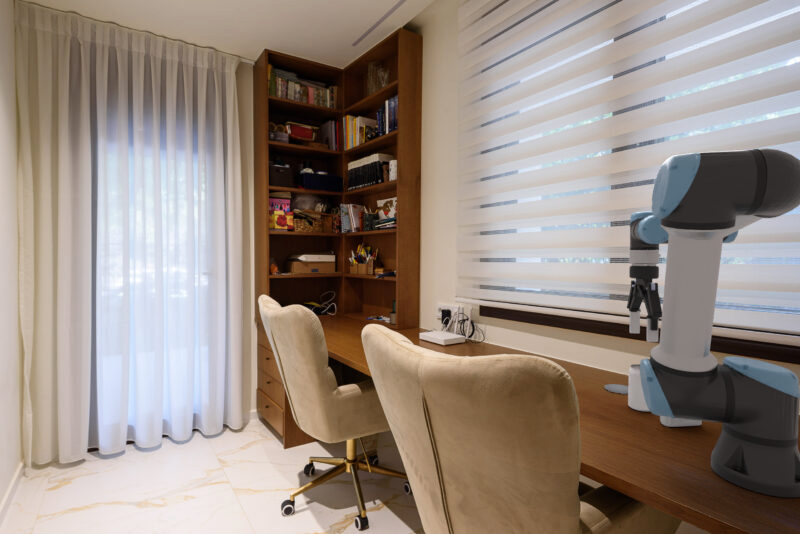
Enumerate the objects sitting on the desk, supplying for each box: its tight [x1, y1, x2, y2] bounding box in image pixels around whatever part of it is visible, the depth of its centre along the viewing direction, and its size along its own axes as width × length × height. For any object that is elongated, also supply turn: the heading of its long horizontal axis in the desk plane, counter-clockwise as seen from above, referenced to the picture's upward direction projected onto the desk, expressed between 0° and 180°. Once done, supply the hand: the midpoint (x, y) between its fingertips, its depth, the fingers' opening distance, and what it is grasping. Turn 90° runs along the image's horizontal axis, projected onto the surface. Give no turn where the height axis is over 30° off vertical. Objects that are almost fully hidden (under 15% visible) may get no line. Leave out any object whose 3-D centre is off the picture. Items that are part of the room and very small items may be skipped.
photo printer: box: [659, 416, 703, 428], centre depth 112 cm, size 10×4×12 cm, turn 98°
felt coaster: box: [603, 383, 629, 395], centre depth 140 cm, size 9×9×1 cm
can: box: [627, 363, 651, 413], centre depth 123 cm, size 6×6×12 cm
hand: (642, 337), depth 126 cm, fingers open, 13 cm apart
